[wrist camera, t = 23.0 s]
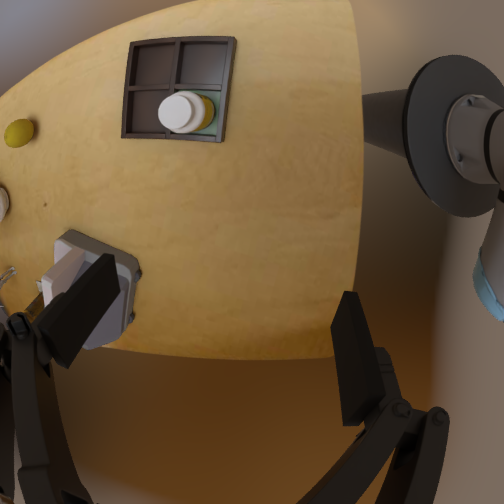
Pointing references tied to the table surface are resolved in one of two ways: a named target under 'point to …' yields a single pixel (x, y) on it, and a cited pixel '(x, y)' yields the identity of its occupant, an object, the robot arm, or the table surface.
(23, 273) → the table surface
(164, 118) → the supplement bottle
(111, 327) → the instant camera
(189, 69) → the compartment tray
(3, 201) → the flower vase
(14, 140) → the lemon
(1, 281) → the human figurine
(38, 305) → the condiment
